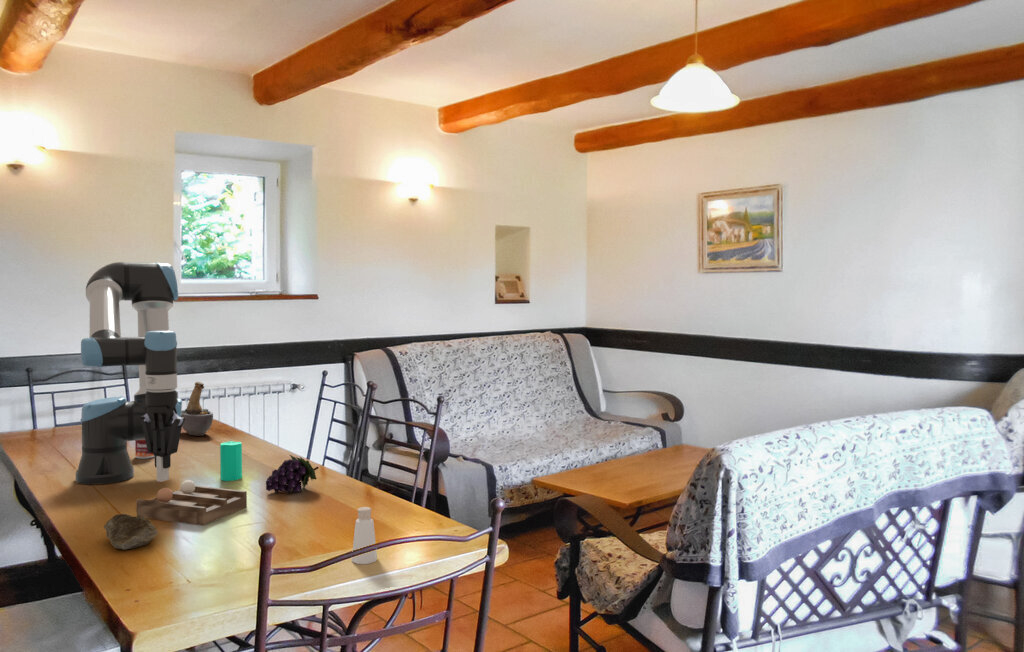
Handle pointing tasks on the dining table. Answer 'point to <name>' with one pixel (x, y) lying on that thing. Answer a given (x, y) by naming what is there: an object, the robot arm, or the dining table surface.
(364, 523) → the pepper shaker
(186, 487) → the ball cream
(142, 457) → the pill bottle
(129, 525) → the stone
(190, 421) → the grey mortar and pestle
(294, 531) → the dining table surface
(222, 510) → the board
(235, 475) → the candle
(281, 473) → the fruit
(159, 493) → the ball terracotta
